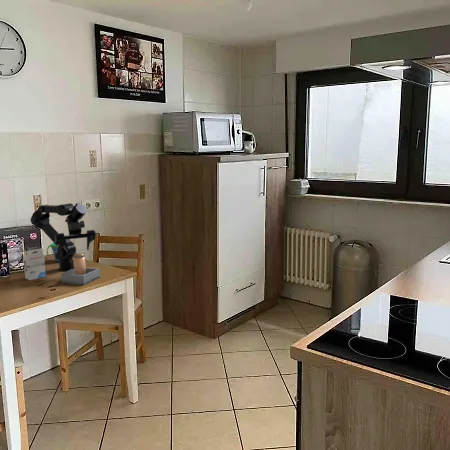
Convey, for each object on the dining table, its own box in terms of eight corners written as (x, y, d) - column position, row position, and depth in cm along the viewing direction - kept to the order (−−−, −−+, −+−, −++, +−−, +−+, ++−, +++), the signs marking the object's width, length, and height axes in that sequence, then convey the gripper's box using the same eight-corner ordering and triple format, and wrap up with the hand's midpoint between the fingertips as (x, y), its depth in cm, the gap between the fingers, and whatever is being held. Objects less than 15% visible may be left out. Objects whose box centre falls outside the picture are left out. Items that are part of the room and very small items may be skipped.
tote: (61, 282, 215) (61, 273, 215) (78, 275, 227) (78, 266, 226) (84, 285, 211) (83, 276, 210) (100, 277, 223) (99, 268, 222)
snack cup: (46, 264, 249) (44, 246, 248) (49, 259, 259) (47, 241, 258) (75, 262, 253) (74, 244, 251) (77, 257, 263) (76, 240, 261)
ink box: (41, 274, 229) (39, 246, 226) (46, 276, 226) (43, 247, 223) (24, 278, 223) (21, 249, 220) (28, 280, 220) (26, 251, 217)
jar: (73, 279, 217) (71, 255, 214) (77, 276, 222) (76, 252, 220) (84, 279, 216) (82, 255, 214) (88, 276, 221) (86, 252, 219)
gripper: (53, 217, 218) (57, 244, 210) (93, 213, 225) (98, 240, 217) (53, 230, 226) (58, 257, 219) (92, 226, 234) (97, 252, 226)
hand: (78, 251), depth 220 cm, fingers open, 9 cm apart
